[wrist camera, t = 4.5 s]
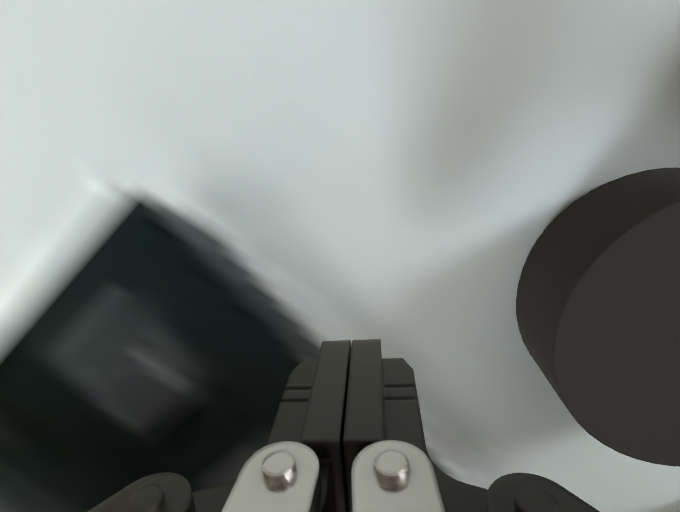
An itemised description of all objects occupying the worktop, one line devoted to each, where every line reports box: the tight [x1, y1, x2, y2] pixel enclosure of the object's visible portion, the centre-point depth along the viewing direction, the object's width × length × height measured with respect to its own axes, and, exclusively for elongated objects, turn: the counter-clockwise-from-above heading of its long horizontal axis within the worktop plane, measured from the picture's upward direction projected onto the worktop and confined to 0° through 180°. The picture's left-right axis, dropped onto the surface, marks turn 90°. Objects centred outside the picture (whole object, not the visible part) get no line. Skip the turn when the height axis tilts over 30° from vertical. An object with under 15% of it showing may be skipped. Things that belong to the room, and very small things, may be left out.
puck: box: [516, 168, 680, 466], centre depth 12 cm, size 8×8×3 cm
